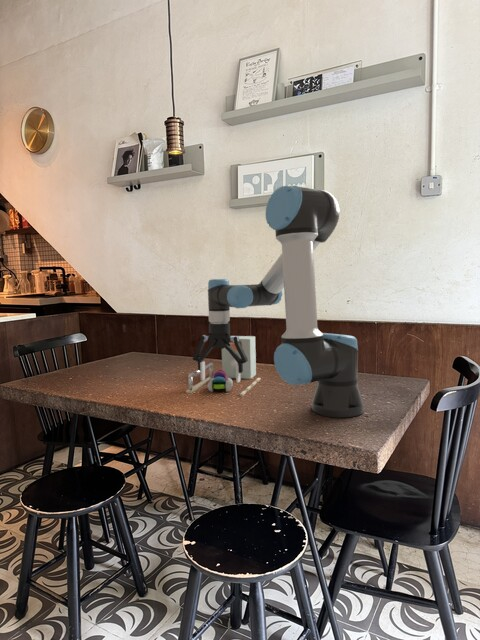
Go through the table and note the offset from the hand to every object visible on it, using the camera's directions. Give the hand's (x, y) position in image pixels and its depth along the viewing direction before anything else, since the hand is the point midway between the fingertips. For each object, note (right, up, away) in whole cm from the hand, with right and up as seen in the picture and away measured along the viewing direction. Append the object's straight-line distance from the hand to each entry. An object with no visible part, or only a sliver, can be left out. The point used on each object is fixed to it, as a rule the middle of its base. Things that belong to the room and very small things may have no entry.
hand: (220, 380), depth 160 cm
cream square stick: (+11, -3, +3) cm, 12 cm away
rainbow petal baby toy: (0, -4, 0) cm, 4 cm away
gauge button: (+5, +10, +16) cm, 19 cm away
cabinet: (+7, -1, +21) cm, 22 cm away
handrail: (-8, -3, +9) cm, 12 cm away
